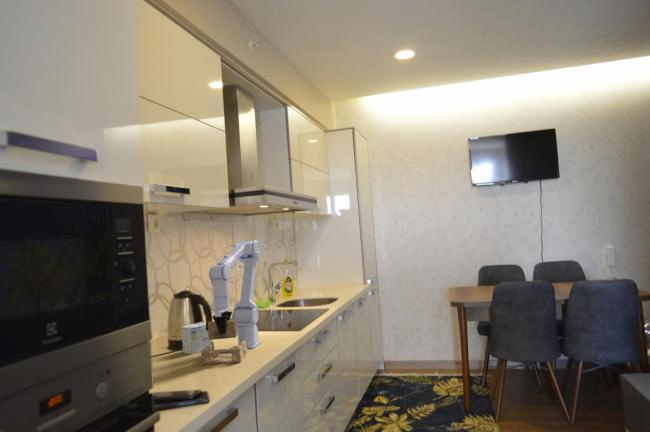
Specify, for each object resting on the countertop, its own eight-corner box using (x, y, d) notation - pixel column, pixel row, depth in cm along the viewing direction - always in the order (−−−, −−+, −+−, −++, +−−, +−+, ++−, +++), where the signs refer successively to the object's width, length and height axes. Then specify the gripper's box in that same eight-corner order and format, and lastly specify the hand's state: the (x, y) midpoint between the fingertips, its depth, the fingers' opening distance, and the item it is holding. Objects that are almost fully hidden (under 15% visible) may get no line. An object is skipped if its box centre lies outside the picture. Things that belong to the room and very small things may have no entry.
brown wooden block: (208, 339, 177) (207, 323, 177) (211, 337, 181) (210, 321, 181) (235, 337, 176) (234, 321, 177) (237, 335, 180) (236, 319, 181)
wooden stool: (211, 355, 185) (211, 342, 185) (247, 352, 185) (246, 339, 185) (202, 365, 171) (201, 351, 171) (240, 362, 171) (239, 348, 171)
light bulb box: (204, 346, 202) (202, 321, 202) (213, 348, 197) (212, 322, 198) (182, 352, 193) (180, 326, 194) (192, 354, 189) (190, 327, 189)
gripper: (215, 294, 186) (218, 329, 186) (205, 300, 172) (208, 337, 171) (233, 293, 186) (235, 328, 186) (224, 298, 172) (227, 336, 171)
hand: (223, 332), depth 179 cm, fingers closed on brown wooden block, 4 cm apart
